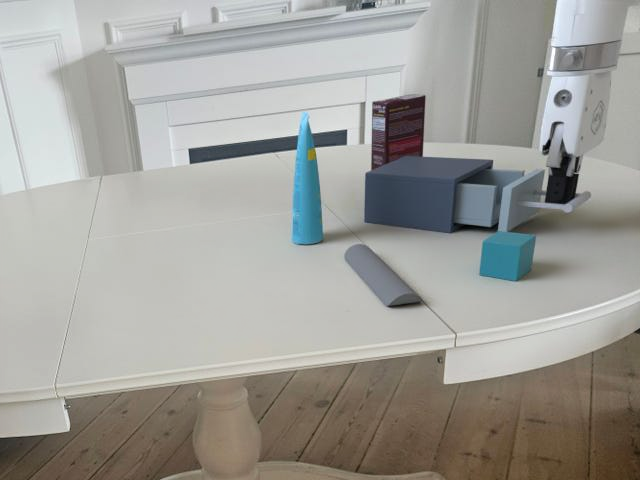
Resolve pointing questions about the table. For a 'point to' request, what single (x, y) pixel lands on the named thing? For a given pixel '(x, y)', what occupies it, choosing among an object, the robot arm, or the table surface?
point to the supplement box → (397, 128)
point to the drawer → (504, 198)
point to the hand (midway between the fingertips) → (559, 203)
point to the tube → (306, 190)
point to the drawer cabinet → (418, 191)
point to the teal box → (507, 255)
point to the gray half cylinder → (380, 276)
